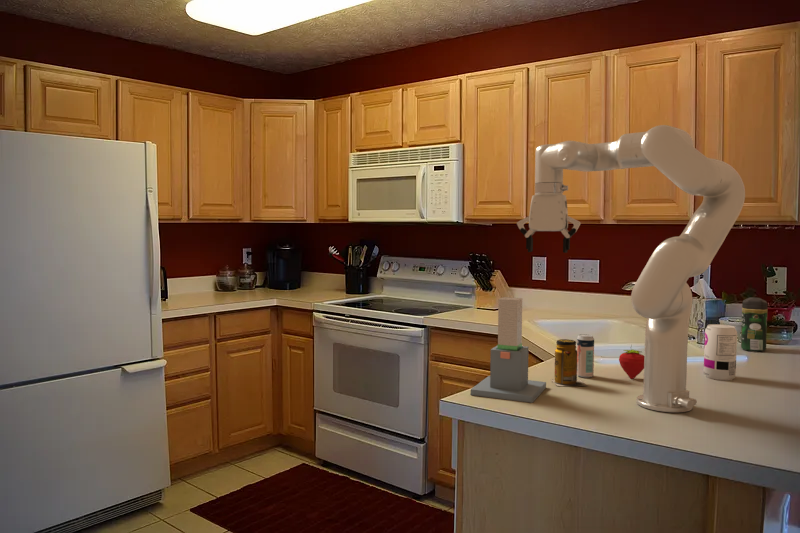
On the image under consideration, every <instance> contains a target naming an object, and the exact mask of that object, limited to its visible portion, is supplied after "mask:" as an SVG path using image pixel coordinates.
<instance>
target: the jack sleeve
mask: <svg viewBox="0 0 800 533" xmlns="http://www.w3.org/2000/svg"><path fill="white" fill-rule="evenodd" d="M489 364H490V367H489V368H490V375H488V376H487V377H485V378H484V379H482V380H481V381H480V382H478V383H477V384H476V385H474V386H473V387H472V388H470V396H477V397H483V398H491V399H492V398H493V399H499V400H500V399H501V400H508V401H514V402H515V401H517V402H523V403H530V404H531V403H534V402H535V400H536V399H537V398H538V397H539V396H540V395H541V394H542V393H543V392H544V391H545V390H546V388H547V381H543V380H542V381H540V380H532V379H529V346H524V345H522V349H521V350H519V351H511V350H499V349H497V345H496V346H494V347H492V348H491V349H490V362H489Z"/></svg>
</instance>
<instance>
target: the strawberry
mask: <svg viewBox="0 0 800 533" xmlns="http://www.w3.org/2000/svg"><path fill="white" fill-rule="evenodd" d="M630 347H632V344H631V346H630ZM623 351H624V352H623V353H621V354H620V355H619V357H618V361H619V365H620V367H621V368H622V370H623V371H624V372H625V374H626V375H627V376H628V378H629V379H631V380H632V379H633V380H634V379H635V378H637V376H638V375H640V374H641V372H643V371H644V355H643V354H641V351H640V350H636V349H623Z"/></svg>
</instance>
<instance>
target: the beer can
mask: <svg viewBox="0 0 800 533" xmlns="http://www.w3.org/2000/svg"><path fill="white" fill-rule="evenodd" d="M576 350H577V377H579V378H583V379H589V378H592V377H594V366H595V364H594V363H595V362H594V361H595V338H594V336H593V335H592V334H582V333H581V334H578V335H577V337H576Z"/></svg>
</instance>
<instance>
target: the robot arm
mask: <svg viewBox="0 0 800 533" xmlns="http://www.w3.org/2000/svg"><path fill="white" fill-rule="evenodd" d="M534 155H535V160H534V162H535V164H534V165H535V167H534V195H531V199H530V200H531V201H530V206H529V214H528V216H526V217H524V218H523V219H520V220H519V221H516V225H517V227H518V229H519V232H520V233H521V234H522V235H523V236H524V237H525V241H526V242H525V248H526V250H527V253H532V252H534V238H533V235H534V234H535V233H536V232H561V234H562V235H563V236H564V237H563V238H562V252H563V253H564V254H567V253H568V250H570V249H571V248H570V247H571V246H570V245H571V238H572V236H574V235H575V234H576V233H577V231H578V229H579V228H580V226H581V224H582V222H580V221H579V220H577V219H575V218H573V217H571V216H570V215H569V212H568V200H567V195H566V194H564V192H566V191H569V185H565V184H564V170H569V171H578V172H587V173H588V172H601V171H602V172H603V171H612V170H613V171H614V170H625V169H632V168H633V169H634V168H635V169H636V168H646V167H654V168H656V169H657V171H659V172H660V173H661V174H663V175H664V176H665V177H666V178H667V179H668V180H669V181H671V182H672V183H673V184H674V185H675V186H677V188H679V189H680V190H682V191H683V192H685V193H686V194H688V195H692V196H697V197H698V196H699V197H703V199H702V202H701V204H700V205H699V206H698V207H697V209H696V210H695V211H694V213H693V214H692V215H691V217H690V219H689V221H688V223H686V224H687V225H686V226H685V227H684V229H683V231H682V232H681V234H680V235H679V236H672V237H669V238H666V239H665V240H663V241H662V242H661V243H659V245H657V247H656V248H655V249H654V251H653V252H652V254H651V256H650V257H649V259H648V261H647V262H646V265H645V266H644V268H643V269H642V271H641V273H640V275H639V276H638V279H637V280H636V281H635V284H634V285H633V287H632V290H631V294H630V301H631V306H632V308H633V309H634V311H635V312H636V314H638V315H639V316H640V317H643V318H645V319H646V322H645V332H644V369H643V392H642V393H643V394H640V395H638V396H637V397H636V404H637V405H638V406H640V407H642V408H644V409H647V410H651V411H656V412H657V411H658V412H663V413H685V412H689V411H691V410H693V408H694V406H695V405H697V403H698V401H697V399H696V398H692V397H690V390H687V374H688V373H687V372H688V371H687V370H688V368H687V367H688V346H689V345H688V344H689V329H690V328H689V326H690V319H691V313H692V307H693V293H692V290H691V287H690V286H689V284H688V283H687V281H688V280H689V278H692V277H697V276H699V275H702V274H703V273H704V272H706V271H707V270H708V268H709V266H710V265H711V263H712V262H713V259H714V258H715V256H716V255H717V253H718V251H719V249H720V248H721V246H722V245H723V243H724V241H725V239H726V237H727V236H728V234H729V233H730V231H731V229H732V228H733V226H734V224H735V223H736V221H737V219H738V218H739V216H740V214H741V212H742V209H743V207H744V204H745V199H746V190H745V189H746V188H745V184H744V182H743V179H742V177H741V175H740V173H739V172H738V171H737V170H736V168H734V167H733V166H732V165H731V164H729V163H728V162H725V161H723V160H720V159H716V158H713V157H712V158H710V157H707V156H706V155H704V154H703V153H702V152H700V150H698V149H697V148H695V147H694V141H693V138H692V135H690V133H689V132H688V131H686V130H684V129H681V128H678V127H675V126H671V125H666V124H660V125H655V126H653V127H651V128H650V129H648V130H647V131H642V132H641V131H640V132H631V133H623V134H621V136H620V137H619V138H618V139H617V140H614V141H610V142H609V141H608V142H600V143H599V142H598V143H587V142H581V141H576V140H565V141H561V142H558V143H555V144H554V143H553V144H552V143H551V144H550V143H549V144H548V143H547V144H540V145H539V146H536V149H535V154H534ZM526 223H528V228H529V229H528V230H527V229H526V228H525V226H524V225H525V224H526ZM569 223H571V224H573V226H572V227H571V229H570V230H568V228H569Z"/></svg>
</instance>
